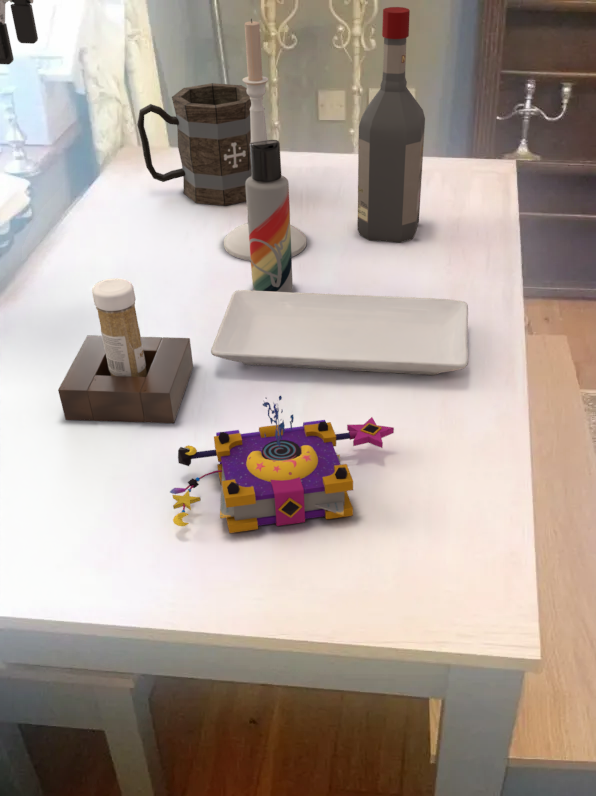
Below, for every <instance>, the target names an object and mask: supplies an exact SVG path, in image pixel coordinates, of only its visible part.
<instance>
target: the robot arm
mask: <svg viewBox="0 0 596 796" xmlns="http://www.w3.org/2000/svg"><path fill="white" fill-rule="evenodd" d="M8 2H10V3H11V4H10V11H11V15H12V20H13V25H14V30H15V34H16V35H15V36H16V40H17V41H18V42H19V43H20V44H30V45H31V44H33V45H34V44H35V43H37V42H38V39H39V37H38V31H37V26H36V20H35V15H34V10H33V5H32V4H34V0H0V65H10V64H12V63H13V62H14V54H13V49H12V44H11V40H10V35H9V30H8V25H7V23H6V4H7V3H8Z"/></svg>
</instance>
